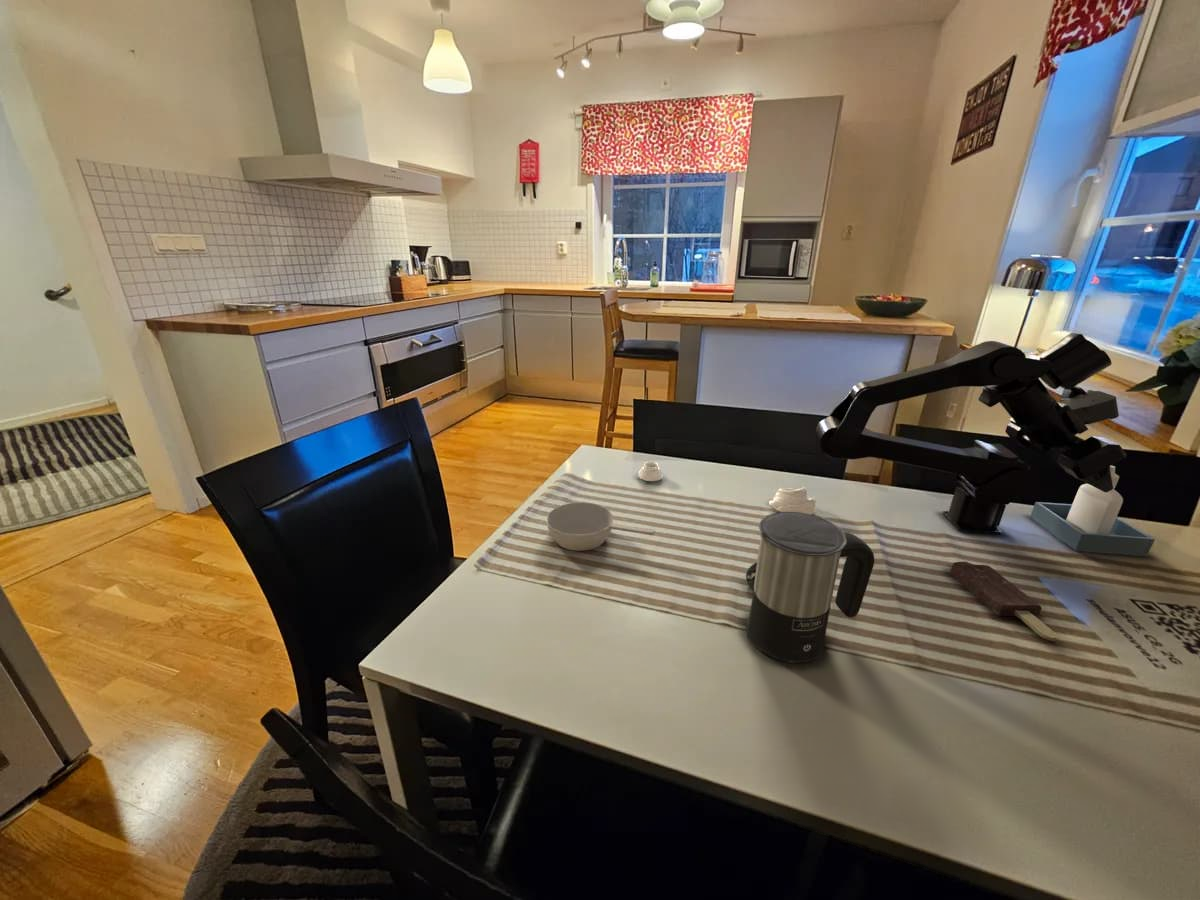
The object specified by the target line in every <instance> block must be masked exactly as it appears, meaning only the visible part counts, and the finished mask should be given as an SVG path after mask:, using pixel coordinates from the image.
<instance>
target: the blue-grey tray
mask: <svg viewBox="0 0 1200 900" xmlns="http://www.w3.org/2000/svg"><path fill="white" fill-rule="evenodd" d="M1072 504H1073V503H1071V504H1070V503H1057V502H1056V503H1055V502H1043V501H1035V503H1034V505H1033V507H1032V510H1031V513H1030V515H1029V518H1030V519H1031V520H1033V521H1034V522H1036V524H1038V525H1040V527H1042V528H1043V529H1045V530H1046V531H1048V532H1049V533H1051V534H1052V535H1053V536H1055V537H1056V539H1058V540H1060V541H1061V542H1062V543H1064V544H1066V546H1068V547H1069V548H1071V549H1072V550H1074V551H1076V552H1088V553H1100V554H1110V555H1113V554H1114V555H1123V556H1135V557H1137V556H1138V557H1148V555H1149V553H1150V551H1151V549H1152V546H1153V545H1154V542H1155V541H1156V539H1155V538H1153V537H1151V536H1150V535H1148V534H1147V533H1146V532H1143V531H1141V530H1140V529H1138V528H1137V527H1135V526H1133V525H1131V524H1130V523H1128V522H1126V521H1125V520H1123V519H1121V518H1120V517H1118V516H1117V517H1116V519H1115V522H1114V524H1113V526H1112V529H1111V531H1110V533H1109V535H1107V534H1094V533H1083V532H1082V531H1080V530H1079V529H1077V528H1076V527H1074V526H1073V525H1071V524H1070V523H1068V522H1067V521H1066V519H1067V516H1068V514H1069V511H1070V509H1071V506H1072Z"/></svg>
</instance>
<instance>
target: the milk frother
mask: <svg viewBox="0 0 1200 900" xmlns="http://www.w3.org/2000/svg"><path fill="white" fill-rule="evenodd" d="M758 525H759V526H758V528H759V529H758V530H759V531H760V538H759V545H758V552H757V560H756V562H754V563H753V564H752V565H750V566H749V567H748V569H747V570H746V573H745V577H746V578H745V579H746V583H747V585H748V587H749V588H750V589H751V590H752V597H751V604H750V610H749V615H748V617H747V618H746V621H745V632H746V635H747V637H748V639H749V641H750V642H751V643H752V645H753V646H755V647H756V648H757V649H758V650H759V651H761V652H762V653H764V654H765V655H767V656H769V657H771V658H774V659H775V660H779V661H781V662H785V663H791V664H802V663H803V664H804V663H810V662H813V661H815V660H817V659H819V658H820V656H822V655H823V653H824V652H825V651H826V650H825V649H826V647H827V646H826V645H827V642H826V634H827V628H828V627H827V626H828V622H829V618H830V617H829V616H830V611H831V606H832V600H833V595H834V591H835V585H836V580H837V574H838V570H839V564H840V560H841V559H840V558H844V557H845V561H844V564H843V567H842V572H841V576H840V579H839V583H838V584H839V585H838V588H837V591H836V595H835V600H834V602H835V605H836V607H837V608H838V609H839V610H840V612H841V613H842V614H843V615H845V617H847V618H853V617H856V616H857V615H858V614H859V612H860V609H861V606H862V604H863V600H864V597H865V594H866V591H867V589H868V584H869V581H870V578H871V575H872V572H873V569H874V566H875V554H874V552H873V550H872V549H871V547H870V546H869V545H868V544H867V543H866V542H865V541H864V540H863V539H862V538H860V537H859V536H857V535H856V534H853V533H850V532H849V531H843V530H842V529H841V528H840V527H839V526H838V525H837V524H835V523H833V522H832V521H830V520H827V519H826V518H823V517H820V516H817V515H814V514H811V515H810V514H805V513H801V512H780V511H778V512H774V513H770V514H768V515H766V516H764V517H763V518H761V520H760V521H759V524H758Z"/></svg>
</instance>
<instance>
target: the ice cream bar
mask: <svg viewBox="0 0 1200 900" xmlns="http://www.w3.org/2000/svg"><path fill="white" fill-rule="evenodd" d="M949 571H950V575H951V576H952V577H953V578H954V580H956V581H958V582H959V583H960V584H961V585H962V586H963V587H964V588H965V589H966V590H967V591H969V593H971V594H972V595H973V596H974V597H976V598H977V600H979V601H980V602H981V603H983V604H984V605H985V606H986V607H987V608H988V609H989V610H990V611H992V613H994V614H995V615H996V616H998V617H1015V616H1016V617H1017V618H1018V619H1020V620H1021V621H1022V622H1023V623H1024V624H1025V625H1027V626H1028V627H1029V628H1030V629H1032V631H1034V632H1035V633H1036V634H1037V635H1039V636H1040V637H1041V638H1043V639H1044V640H1046V641H1051V642H1055V641H1056V640H1057V639H1058V634H1057V633H1056V632H1055V631H1053V629H1052V628H1050V627H1049V626H1047V625H1046V624H1045V623H1044V622H1043V621H1042V620H1040V619H1039V618H1038V617H1039V616H1040V615H1041V612H1042V609H1043V607H1042V606H1041V604H1039V603H1038V602H1037V601H1036V600H1034V599H1033V598H1031V597H1030V596H1029V595H1028V594H1026V593H1025V592H1024V591H1022V590H1021V589H1020V588H1019V587H1017V586H1016V585H1015V584H1013V583H1012V582H1011V581H1009V580H1008V579H1007V578H1006V577H1005V576H1003V575H1001V573H999V572H998V571H996V570H995V569H994V568H993V567H991V566H990V565H987V564H974V563H971V562H968V561H955V562H953V563H952V564H951V567H950V570H949ZM1036 616H1038V617H1036Z"/></svg>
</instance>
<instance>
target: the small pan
mask: <svg viewBox="0 0 1200 900" xmlns="http://www.w3.org/2000/svg"><path fill="white" fill-rule="evenodd" d="M546 523H547V525H546V526H547V530H548V532H549V534H550V536H551V537H552V538H553V539H554V541H555V543H556V544H557V545H558V546H560V547H561V548H563V549H566V550H570V551H581V552H582V551H589V550H593V549H596V548H598V547H600V546H601V545H603V544H604V542H605V541H606V539H607V538H608V537H609V535H610V533H611V531H612V530H617V531H622V532H628V533H634V534H641V535H647V536H653V535H655V534H656V530H655V529H653V528H646V527H639V526H634V525H627V524H620V523H614V516H613V514H612V512H611V511H610V510H609V509H608V508H606V507H604V506H602V505H600V504H596V503H591V502H583V501H582V502H580V501H579V502H570V503H565V504H561V505H559V506H556V507H555V508H553V509H552V510H551V511H549V513H548V514H547V516H546Z"/></svg>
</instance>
